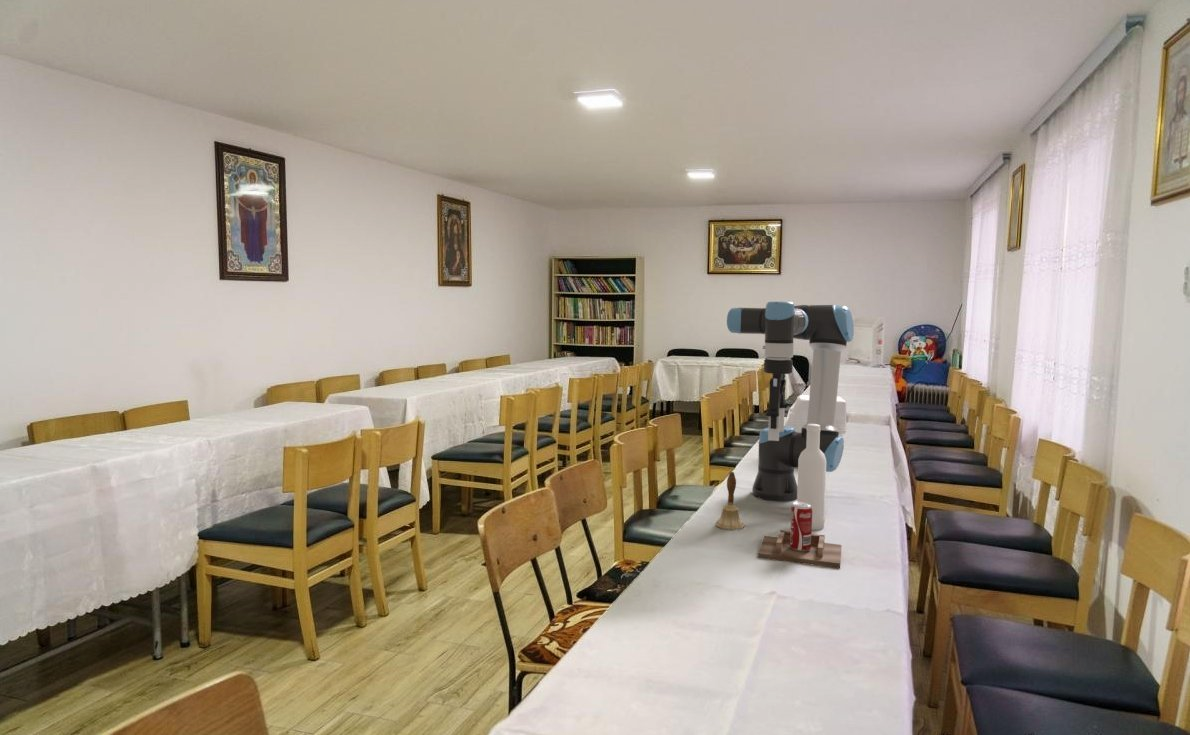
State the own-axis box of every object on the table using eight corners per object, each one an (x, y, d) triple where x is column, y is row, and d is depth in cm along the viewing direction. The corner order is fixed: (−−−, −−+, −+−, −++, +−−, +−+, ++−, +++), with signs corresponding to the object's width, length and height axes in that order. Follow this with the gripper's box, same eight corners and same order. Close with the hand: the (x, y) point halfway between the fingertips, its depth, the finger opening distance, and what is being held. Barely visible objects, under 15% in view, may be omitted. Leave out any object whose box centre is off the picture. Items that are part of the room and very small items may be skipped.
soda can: (787, 545, 185) (788, 501, 184) (806, 544, 186) (808, 500, 184) (794, 552, 180) (795, 507, 179) (813, 552, 181) (815, 506, 179)
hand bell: (747, 523, 207) (748, 470, 206) (740, 531, 200) (742, 477, 198) (719, 519, 211) (720, 467, 209) (712, 527, 203) (713, 473, 202)
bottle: (825, 531, 200) (829, 427, 197) (797, 529, 202) (800, 426, 199) (822, 522, 208) (826, 422, 205) (794, 520, 210) (798, 421, 207)
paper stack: (843, 467, 276) (846, 402, 273) (773, 460, 286) (775, 398, 284) (846, 456, 295) (849, 395, 293) (781, 450, 306) (783, 392, 303)
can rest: (764, 539, 193) (764, 526, 193) (841, 549, 186) (841, 535, 186) (757, 557, 180) (758, 543, 180) (840, 568, 173) (840, 553, 173)
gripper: (769, 354, 203) (767, 426, 205) (758, 361, 180) (756, 443, 182) (796, 355, 200) (794, 428, 203) (788, 363, 177) (785, 445, 179)
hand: (776, 435), depth 192 cm, fingers open, 13 cm apart
